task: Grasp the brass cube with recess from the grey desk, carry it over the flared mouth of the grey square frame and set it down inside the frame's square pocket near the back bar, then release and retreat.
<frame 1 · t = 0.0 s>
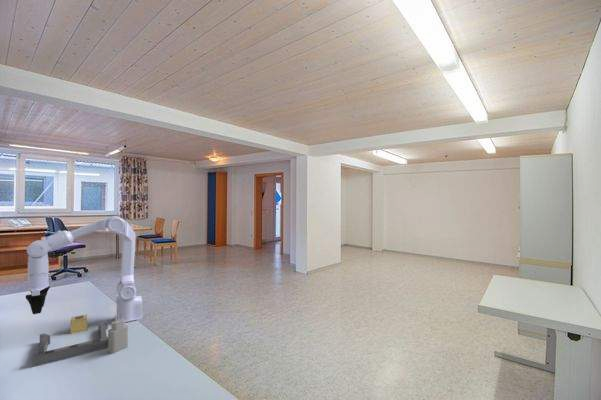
hand: (38, 310, 107), 10 cm above the table, tool pointing down, fingers open, 7 cm apart
grey square frame: (74, 346, 100), on the table
power adapter: (118, 349, 99), on the table
brass cube with recess: (79, 330, 113), on the table
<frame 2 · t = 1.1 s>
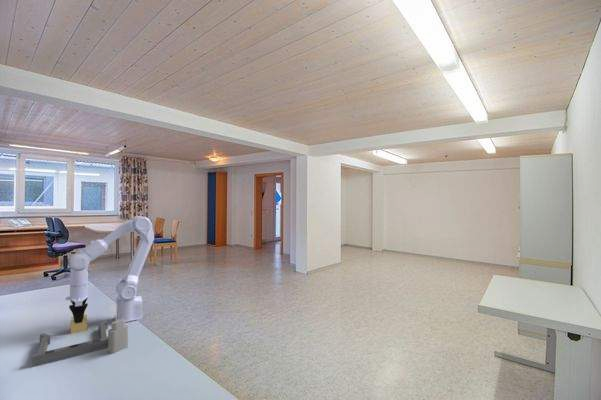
hand: (78, 319, 113), 4 cm above the table, tool pointing down, fingers open, 7 cm apart
nothing on the table moved.
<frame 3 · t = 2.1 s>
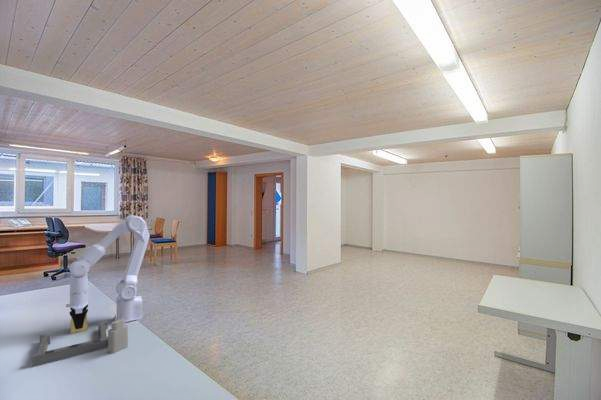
hand: (79, 326, 113), 1 cm above the table, tool pointing down, fingers closed on brass cube with recess, 4 cm apart
brass cube with recess: (79, 330, 113), on the table, touching gripper
everything else where it was.
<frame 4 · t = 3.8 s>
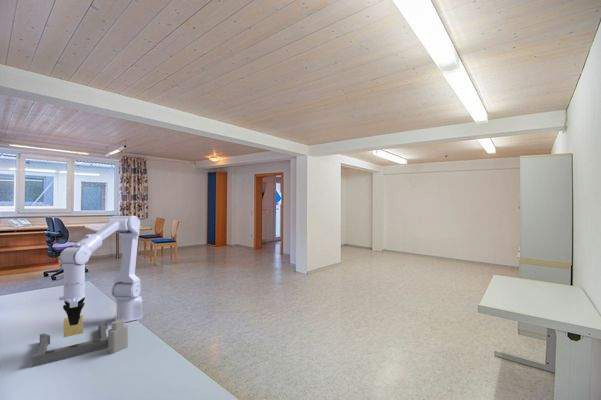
hand: (74, 322, 99), 9 cm above the table, tool pointing down, fingers closed on brass cube with recess, 4 cm apart
brass cube with recess: (73, 333, 99), point 5 cm above the table, touching gripper
everything else where it was.
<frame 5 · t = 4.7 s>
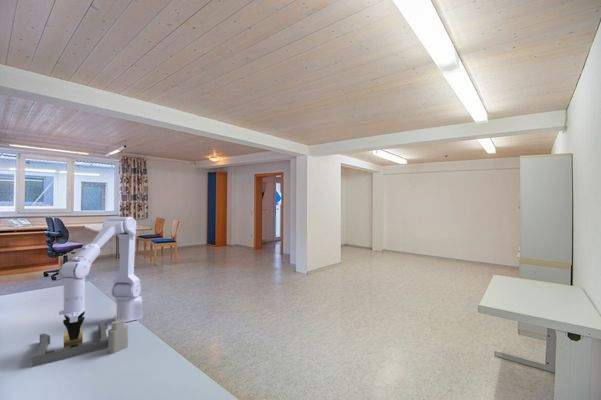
hand: (74, 336, 99), 4 cm above the table, tool pointing down, fingers closed on brass cube with recess, 4 cm apart
brass cube with recess: (73, 347, 99), point 1 cm above the table, touching gripper
everything else where it was.
when the fingers open (3 cm above the table, at t = 5.4 s): brass cube with recess stays where it is, resting in grey square frame.
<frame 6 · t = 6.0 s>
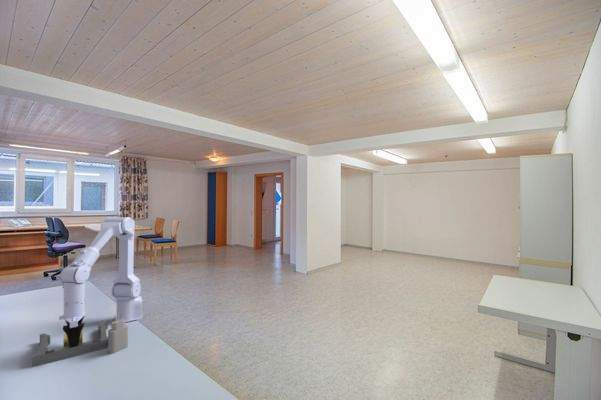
hand: (74, 341, 99), 3 cm above the table, tool pointing down, fingers open, 7 cm apart
brass cube with recess: (73, 349, 99), resting in grey square frame
everything else where it was.
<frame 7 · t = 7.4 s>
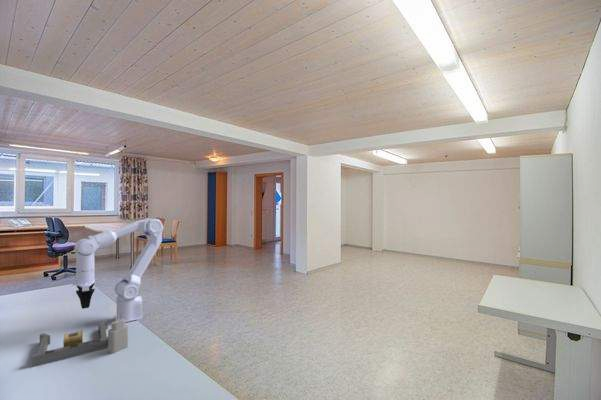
hand: (85, 305, 113), 10 cm above the table, tool pointing down, fingers open, 7 cm apart
nothing on the table moved.
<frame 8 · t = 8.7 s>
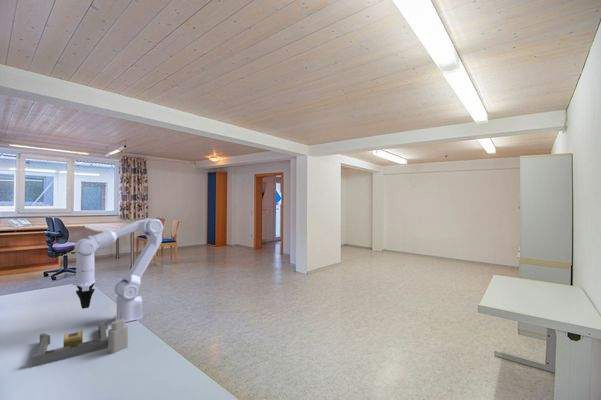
hand: (85, 305, 113), 10 cm above the table, tool pointing down, fingers open, 7 cm apart
nothing on the table moved.
at the end: brass cube with recess inside the target area (1.8 cm from its centre), resting in grey square frame; brass cube with recess tilted 0°; the gripper is holding nothing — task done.
